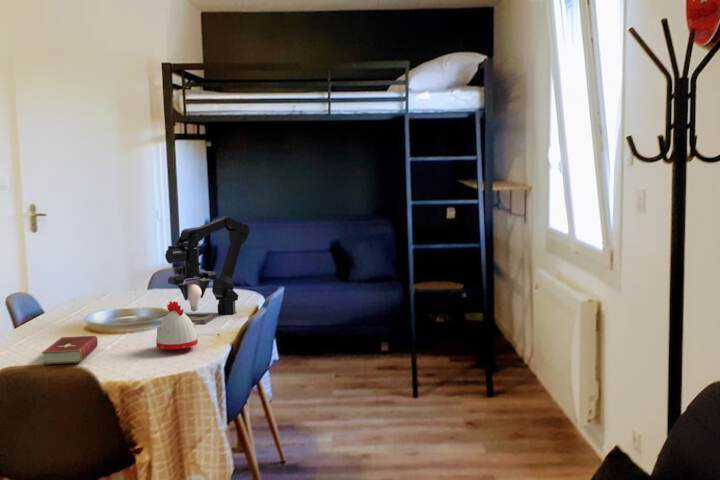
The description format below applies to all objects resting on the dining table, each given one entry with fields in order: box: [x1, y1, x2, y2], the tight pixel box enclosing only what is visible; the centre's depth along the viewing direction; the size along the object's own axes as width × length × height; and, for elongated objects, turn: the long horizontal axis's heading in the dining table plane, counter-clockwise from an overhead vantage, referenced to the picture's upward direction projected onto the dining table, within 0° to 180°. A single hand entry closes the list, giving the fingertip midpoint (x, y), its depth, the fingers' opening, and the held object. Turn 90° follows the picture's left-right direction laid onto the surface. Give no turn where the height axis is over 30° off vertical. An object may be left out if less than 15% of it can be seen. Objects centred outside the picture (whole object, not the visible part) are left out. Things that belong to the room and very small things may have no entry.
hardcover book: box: [42, 335, 99, 365], centre depth 244 cm, size 12×21×4 cm, turn 6°
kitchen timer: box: [155, 300, 198, 350], centre depth 253 cm, size 14×14×15 cm
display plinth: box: [185, 313, 218, 325], centre depth 293 cm, size 14×14×2 cm
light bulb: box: [187, 283, 202, 312], centre depth 292 cm, size 7×7×11 cm
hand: (193, 299), depth 292 cm, fingers closed on light bulb, 6 cm apart
